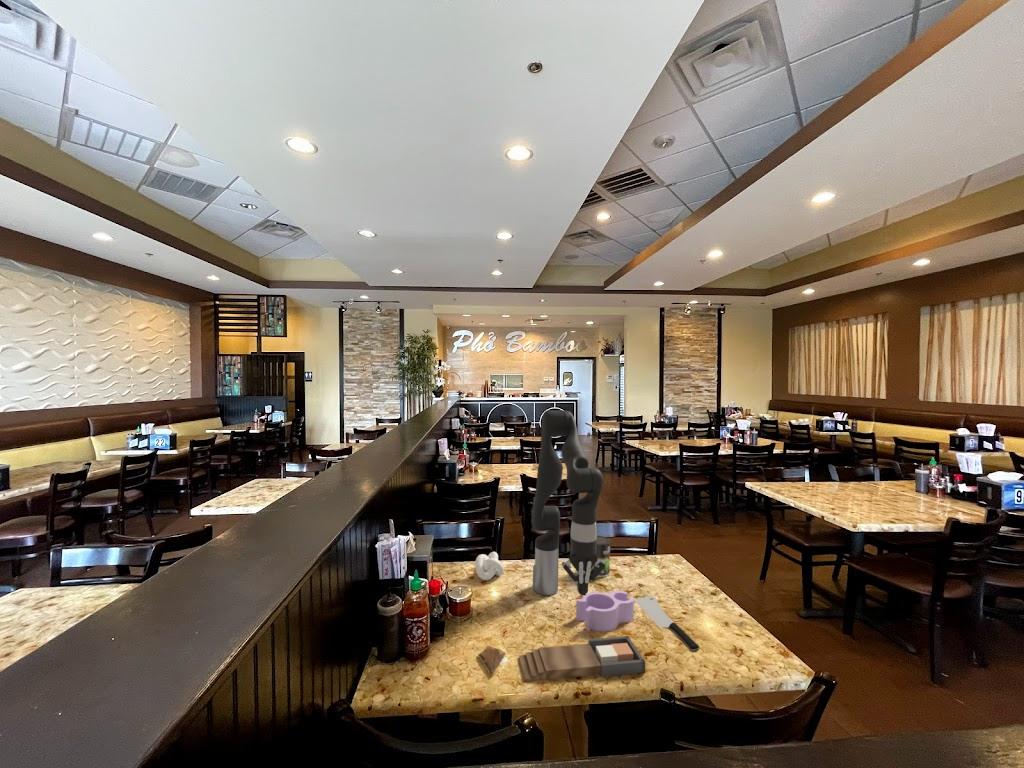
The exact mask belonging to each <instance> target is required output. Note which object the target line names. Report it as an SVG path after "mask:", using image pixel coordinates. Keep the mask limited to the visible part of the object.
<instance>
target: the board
mask: <svg viewBox="0 0 1024 768" xmlns="http://www.w3.org/2000/svg"><path fill="white" fill-rule="evenodd" d="M538 649H539V652H540V655H541V658H542V661H543V664H544V667H545V670H546V679H545V680H553V679H567V678H574V677H575V678H578V677H586V676H596V675H597V676H599V675H601V665H600V663H599V661H598V659H597V657H596V655H595V653H594V651H593V649H592V647H591V645H590V644H588V643H581V644H570V645H558V646H544V647H538Z"/></svg>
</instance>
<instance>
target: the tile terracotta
mask: <svg viewBox="0 0 1024 768" xmlns="http://www.w3.org/2000/svg"><path fill="white" fill-rule="evenodd" d="M611 645H612V646H613V648H614V650H615V652H616V653H617V655H618V662H620V661H631V660H634V653H633V652H632V650H631V649H630V647H629V646H628V644H627V643H619V644H611Z"/></svg>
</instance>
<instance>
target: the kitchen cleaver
mask: <svg viewBox="0 0 1024 768" xmlns="http://www.w3.org/2000/svg"><path fill="white" fill-rule="evenodd" d="M634 603H636V604H637V606H639V607H640V609H641V610H642V611H643V612H644V613H645V614H646V615H647V616H648V617H649V618H650V619H651V620H652V621H653V622H654V623H655V624H656V625H657V626H658V628H659V629H669V630H671V631H672V632H673V633H674V634H676V636H677V637H678V638H679V639H681V641H682V642H683V643H684V644H685V645H686V646H687V647H688V649H689V650H690V651H692V652H696V651H698V650H699V649H700V646H699V644H697V642H695V641H694V640H693V639H692V637H690V636H689V634H687V633H686V632H685V631H684V630H683V629H682V628H681V627H680V626H679V625H677V623H676V622H674V621H673V620H672V619H671V618H670V616H668V614H666V612H665V611H664V610H663V608H662V606H661V605H660V604H659V602H658V600H657V597H656V596H654V595H651V596H645V597H640V598H639V597H638V598H634Z"/></svg>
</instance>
